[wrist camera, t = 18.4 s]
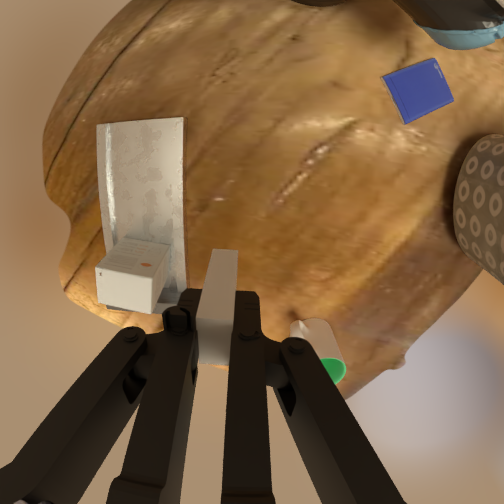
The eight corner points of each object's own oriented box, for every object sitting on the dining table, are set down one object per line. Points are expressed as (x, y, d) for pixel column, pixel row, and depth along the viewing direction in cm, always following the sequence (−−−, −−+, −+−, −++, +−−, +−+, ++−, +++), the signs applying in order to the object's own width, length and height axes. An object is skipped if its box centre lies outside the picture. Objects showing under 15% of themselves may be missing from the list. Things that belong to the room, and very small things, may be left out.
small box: (122, 267, 43) (96, 303, 33) (123, 235, 41) (93, 266, 31) (169, 276, 44) (151, 316, 34) (171, 244, 42) (152, 278, 32)
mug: (268, 321, 50) (273, 362, 40) (306, 296, 48) (319, 335, 38) (303, 356, 54) (313, 396, 44) (338, 335, 52) (353, 374, 42)
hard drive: (435, 57, 30) (383, 76, 32) (454, 101, 33) (406, 124, 35) (430, 58, 32) (378, 78, 34) (449, 101, 35) (401, 124, 37)
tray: (104, 124, 35) (84, 125, 30) (187, 118, 36) (177, 115, 30) (119, 289, 46) (107, 308, 41) (190, 294, 47) (184, 315, 42)
